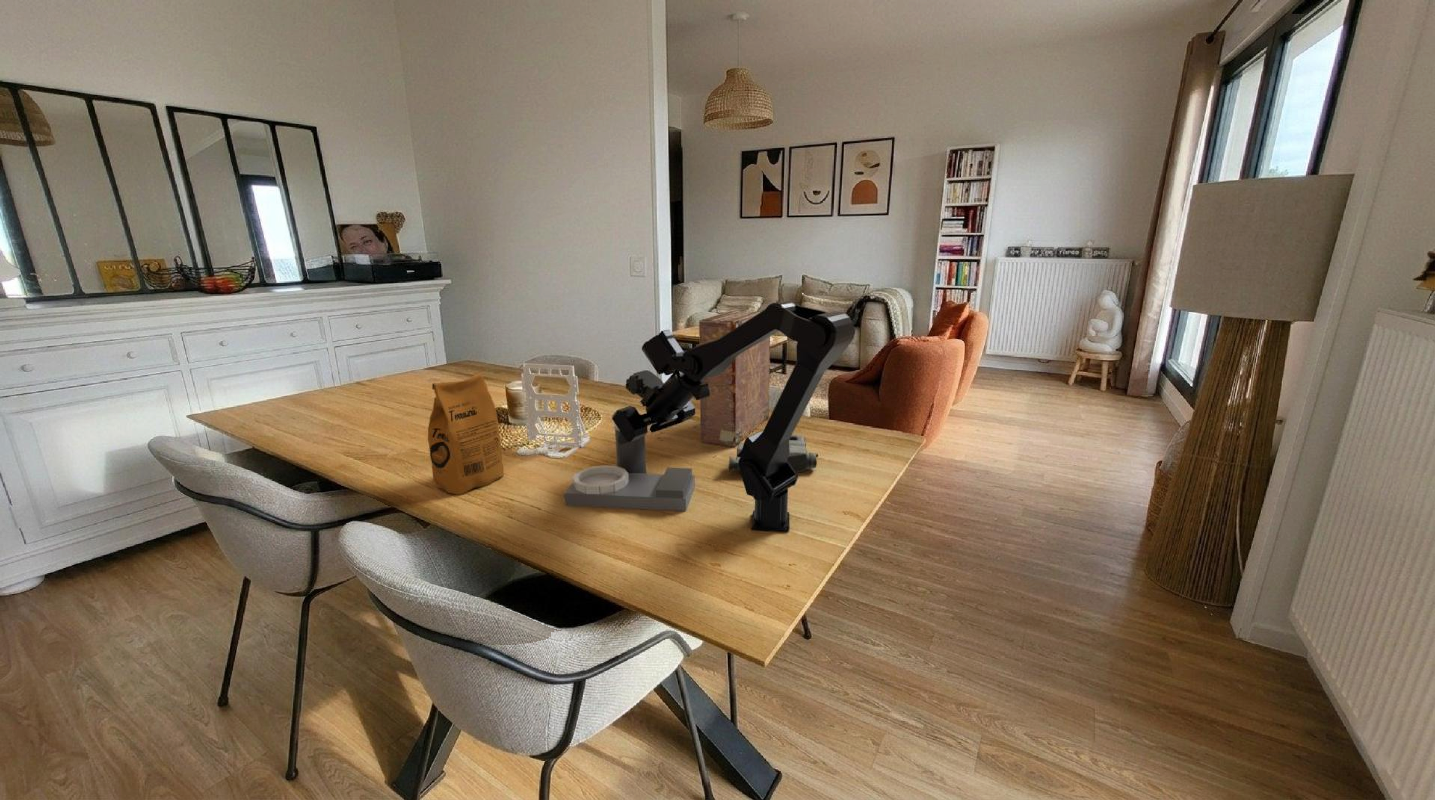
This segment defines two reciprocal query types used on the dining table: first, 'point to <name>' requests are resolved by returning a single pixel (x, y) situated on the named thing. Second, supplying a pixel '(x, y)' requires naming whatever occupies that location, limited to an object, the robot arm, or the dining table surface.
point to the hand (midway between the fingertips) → (635, 436)
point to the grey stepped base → (631, 489)
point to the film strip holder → (552, 412)
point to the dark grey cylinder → (631, 454)
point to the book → (734, 385)
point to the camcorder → (796, 455)
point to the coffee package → (464, 436)
